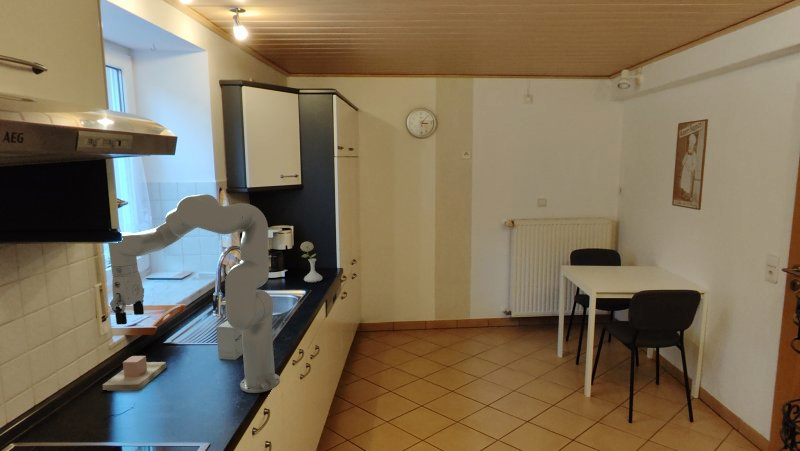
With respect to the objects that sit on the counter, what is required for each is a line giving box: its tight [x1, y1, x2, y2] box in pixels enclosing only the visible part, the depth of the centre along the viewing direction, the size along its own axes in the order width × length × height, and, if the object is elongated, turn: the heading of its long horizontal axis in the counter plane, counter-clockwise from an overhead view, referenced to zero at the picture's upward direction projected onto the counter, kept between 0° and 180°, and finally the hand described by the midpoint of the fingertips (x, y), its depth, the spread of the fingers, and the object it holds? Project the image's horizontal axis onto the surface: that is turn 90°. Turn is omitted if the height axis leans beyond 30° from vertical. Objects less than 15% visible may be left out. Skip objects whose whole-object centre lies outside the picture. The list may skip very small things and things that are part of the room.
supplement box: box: [215, 320, 243, 361], centre depth 177 cm, size 7×7×13 cm
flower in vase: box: [300, 241, 323, 283], centre depth 286 cm, size 13×11×25 cm
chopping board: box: [102, 361, 167, 391], centre depth 161 cm, size 17×12×2 cm
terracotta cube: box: [122, 355, 147, 376], centre depth 160 cm, size 5×5×5 cm
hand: (130, 319), depth 158 cm, fingers open, 9 cm apart
